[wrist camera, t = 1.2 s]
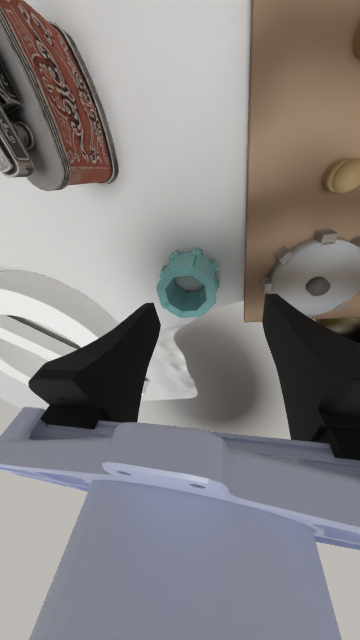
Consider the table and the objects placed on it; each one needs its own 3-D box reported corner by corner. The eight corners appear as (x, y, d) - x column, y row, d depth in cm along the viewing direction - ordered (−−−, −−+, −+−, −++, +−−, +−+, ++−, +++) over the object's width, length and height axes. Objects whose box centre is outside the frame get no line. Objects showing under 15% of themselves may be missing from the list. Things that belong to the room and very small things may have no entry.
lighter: (32, 44, 12) (-280, -167, 4) (72, 16, 11) (-240, -313, 4) (95, 188, 17) (-6, 204, 9) (126, 177, 16) (43, 184, 8)
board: (355, 311, 20) (375, 332, 18) (243, 317, 23) (247, 336, 21) (604, -196, 7) (868, -446, 4) (252, -23, 9) (265, -97, 7)
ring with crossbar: (153, 384, 39) (147, 406, 35) (51, 380, 46) (37, 398, 42) (88, 256, 22) (62, 273, 18) (-59, 280, 29) (-99, 296, 25)
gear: (220, 297, 22) (220, 318, 19) (170, 301, 24) (163, 321, 21) (216, 244, 18) (216, 258, 15) (157, 253, 20) (146, 268, 17)
